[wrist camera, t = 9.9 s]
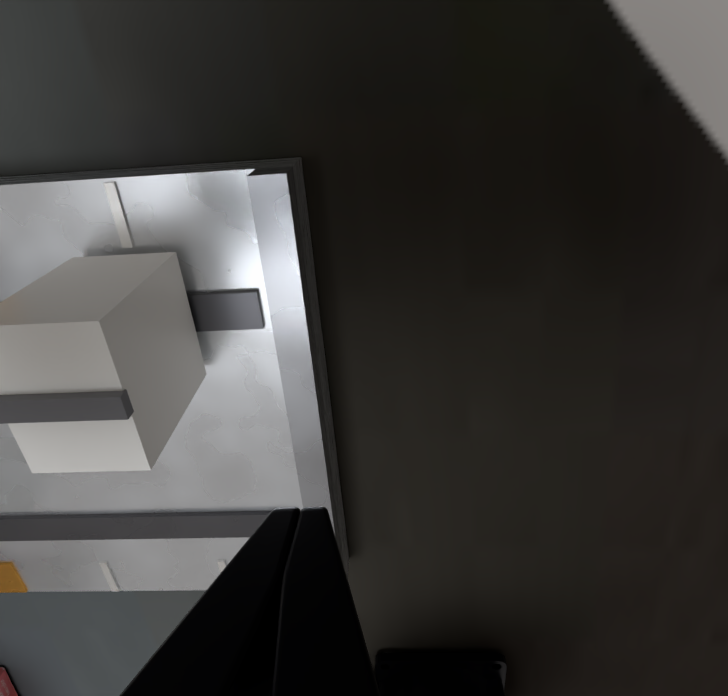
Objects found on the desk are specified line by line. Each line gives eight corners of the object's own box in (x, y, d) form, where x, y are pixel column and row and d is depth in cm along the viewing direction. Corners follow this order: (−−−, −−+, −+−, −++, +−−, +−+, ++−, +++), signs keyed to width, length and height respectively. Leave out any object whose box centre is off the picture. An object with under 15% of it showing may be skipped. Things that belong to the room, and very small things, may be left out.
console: (301, 156, 15) (286, 173, 13) (349, 558, 23) (345, 610, 21) (-331, 198, 16) (-443, 219, 14) (-74, 564, 24) (-119, 613, 22)
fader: (177, 251, 14) (94, 326, 10) (208, 374, 16) (149, 477, 12) (70, 257, 15) (-52, 333, 11) (113, 377, 17) (23, 480, 12)
